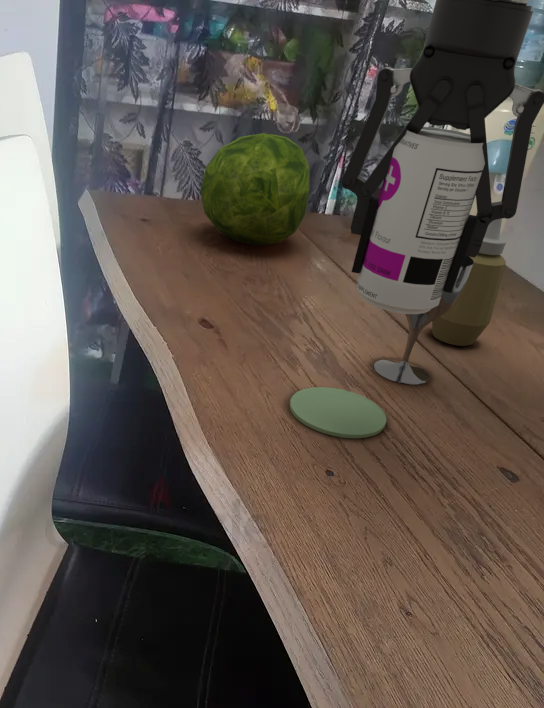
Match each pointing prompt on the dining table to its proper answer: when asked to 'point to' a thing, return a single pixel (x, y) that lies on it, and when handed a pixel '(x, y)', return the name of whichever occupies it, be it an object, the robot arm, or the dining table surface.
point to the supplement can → (420, 220)
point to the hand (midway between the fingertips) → (401, 278)
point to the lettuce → (257, 189)
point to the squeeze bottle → (475, 294)
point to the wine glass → (402, 368)
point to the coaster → (337, 412)
